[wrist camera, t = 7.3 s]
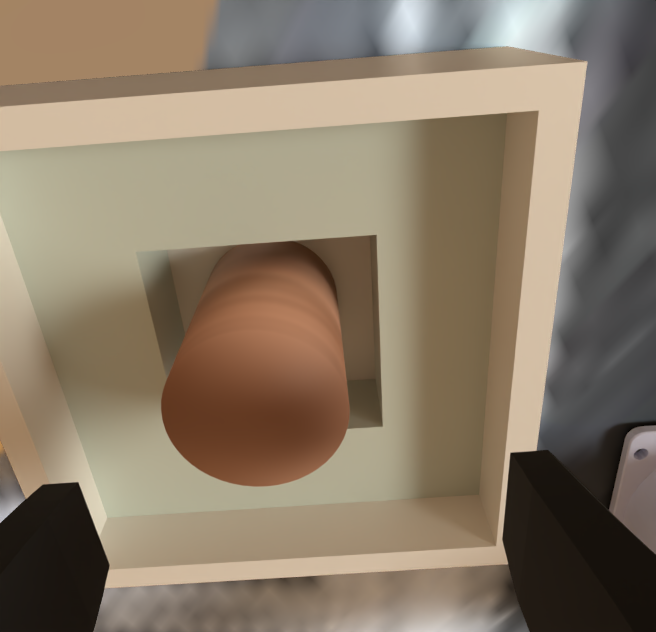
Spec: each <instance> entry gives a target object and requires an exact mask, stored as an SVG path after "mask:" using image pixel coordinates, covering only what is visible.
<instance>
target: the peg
mask: <svg viewBox="0 0 656 632" xmlns="http://www.w3.org/2000/svg"><path fill="white" fill-rule="evenodd" d="M161 414H162V420H163V424H164V427H165V430H166V432H167V435H168V437H169V439H170V441H171V442H172V444H173V445H174V447H175V448H176V449H177V451H178V452H179V453H180V454H181V455H182V456H183V457H184V458H185V459H186V460H187V461H188V462H189V463H190V464H192V465H193V466H195V467H196V468H197V469H199V470H200V471H202V472H204V473H206V474H208V475H209V476H212V477H214V478H216V479H219V480H222V481H225V482H228V483H232V484H237V485H242V486H253V487H261V486H274V485H280V484H284V483H289V482H292V481H295V480H298V479H300V478H302V477H304V476H306V475H309V474H310V473H312V472H314V471H315V470H317V469H318V468H320V467H321V466H322V465H323V464H325V463H326V462H327V461H328V460H329V459H330V458H331V457H332V456H333V455H334V453H335V452H336V450H337V449H338V448H339V446H340V444H341V443H342V441H343V439H344V437H345V434H346V431H347V428H348V423H349V415H350V407H349V398H348V389H347V380H346V371H345V362H344V353H343V344H342V335H341V326H340V317H339V308H338V300H337V291H336V286H335V282H334V279H333V276H332V274H331V272H330V270H329V269H328V267H327V265H326V264H325V263H324V262H323V260H322V259H321V258H320V257H319V256H318V255H317V254H316V253H314V252H313V251H312V250H310V249H309V248H307V247H305V246H304V245H302V244H300V243H297V242H295V241H283V242H269V243H255V244H241V245H237V246H235V247H233V248H232V249H230V250H229V251H228V252H226V253H225V254H224V255H223V256H222V257H221V258H220V259H219V261H218V262H217V264H216V265H215V267H214V268H213V270H212V272H211V274H210V277H209V279H208V282H207V284H206V286H205V289H204V291H203V294H202V296H201V298H200V301H199V303H198V306H197V308H196V310H195V313H194V315H193V318H192V320H191V322H190V325H189V327H188V330H187V332H186V334H185V337H184V339H183V342H182V344H181V346H180V349H179V351H178V354H177V356H176V358H175V361H174V363H173V366H172V368H171V370H170V373H169V375H168V378H167V380H166V383H165V386H164V388H163V393H162V398H161Z"/></svg>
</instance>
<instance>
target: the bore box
mask: <svg viewBox="0 0 656 632" xmlns="http://www.w3.org/2000/svg"><path fill="white" fill-rule="evenodd" d="M586 67H587V61H582V60H577V59H572V58H567V57H561V56H556V55H551V54H546V53H540V52H535V51H530V50H525V49H519V48H514V47H509V46H506V47H493V48H480V49H467V50H454V51H441V52H429V53H416V54H403V55H390V56H377V57H365V58H352V59H339V60H326V61H313V62H300V63H288V64H275V65H262V66H249V67H236V68H223V69H211V70H198V71H186V72H173V73H159V74H147V75H134V76H122V77H109V78H96V79H83V80H70V81H57V82H44V83H32V84H19V85H6V86H0V441H1V443H2V445H3V448H4V450H5V452H6V454H7V457H8V459H9V461H10V464H11V466H12V468H13V471H14V473H15V475H16V477H17V480H18V482H19V484H20V487H21V489H22V491H23V493H24V496H25V498H26V499H27V498H28V497H29V496H30V495H31V494H32V493H33V492H35V491H36V490H37V489H38V488H39V487H40V486H42V485H43V484H57V483H71V482H78V483H79V485H80V488H81V490H82V493H83V496H84V498H85V501H86V504H87V506H88V509H89V512H90V514H91V517H92V520H93V522H94V525H95V527H96V530H97V533H98V535H99V538H100V541H101V543H102V546H103V549H104V551H105V554H106V556H107V559H108V562H109V564H110V566H109V571H108V575H107V579H106V584H105V588H119V587H135V586H152V585H169V584H185V583H202V582H219V581H236V580H252V579H269V578H286V577H303V576H319V575H336V574H353V573H369V572H386V571H403V570H420V569H436V568H453V567H470V566H486V565H503V564H508V561H507V557H506V553H505V549H504V545H503V541H502V537H503V526H504V515H505V505H506V494H507V483H508V472H509V462H510V453H512V452H526V451H536V449H537V442H538V434H539V426H540V419H541V411H542V403H543V396H544V388H545V380H546V373H547V365H548V358H549V350H550V342H551V335H552V327H553V319H554V312H555V304H556V296H557V289H558V281H559V274H560V266H561V258H562V251H563V243H564V235H565V228H566V220H567V212H568V205H569V197H570V190H571V182H572V174H573V167H574V159H575V151H576V144H577V136H578V128H579V121H580V113H581V106H582V98H583V90H584V83H585V75H586ZM283 241H295V242H297V243H300V244H302V245H304V246H305V247H307V248H309V249H310V250H312V251H313V252H314V253H316V254H317V255H318V256H319V257H320V258H321V259H322V260H323V262H324V263H325V264H326V265H327V267H328V269H329V270H330V272H331V274H332V276H333V279H334V282H335V286H336V291H337V300H338V308H339V317H340V326H341V335H342V344H343V353H344V362H345V371H346V380H347V389H348V398H349V407H350V415H349V423H348V428H347V431H346V434H345V437H344V439H343V441H342V443H341V444H340V446H339V448H338V449H337V450H336V452H335V453H334V455H333V456H332V457H331V458H330V459H329V460H328V461H327V462H326V463H325V464H323V465H322V466H321V467H320V468H318V469H317V470H315V471H314V472H312V473H310V474H309V475H306V476H304V477H302V478H300V479H298V480H295V481H292V482H289V483H284V484H280V485H274V486H261V487H253V486H242V485H237V484H232V483H228V482H225V481H222V480H219V479H216V478H214V477H212V476H209V475H208V474H206V473H204V472H202V471H200V470H199V469H197V468H196V467H195V466H193V465H192V464H190V463H189V462H188V461H187V460H186V459H185V458H184V457H183V456H182V455H181V454H180V453H179V452H178V451H177V449H176V448H175V447H174V445H173V444H172V442H171V441H170V439H169V437H168V435H167V432H166V430H165V427H164V424H163V420H162V414H161V398H162V393H163V388H164V386H165V383H166V380H167V378H168V375H169V373H170V370H171V368H172V366H173V363H174V361H175V358H176V356H177V354H178V351H179V349H180V346H181V344H182V342H183V339H184V337H185V334H186V332H187V330H188V327H189V325H190V322H191V320H192V318H193V315H194V313H195V310H196V308H197V306H198V303H199V301H200V298H201V296H202V294H203V291H204V289H205V286H206V284H207V282H208V279H209V277H210V274H211V272H212V270H213V268H214V267H215V265H216V264H217V262H218V261H219V259H220V258H221V257H222V256H223V255H224V254H225V253H226V252H228V251H229V250H230V249H232V248H233V247H235V246H237V245H241V244H255V243H269V242H283Z"/></svg>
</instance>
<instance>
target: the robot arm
mask: <svg viewBox="0 0 656 632" xmlns="http://www.w3.org/2000/svg"><path fill="white" fill-rule="evenodd" d="M639 449H641V450H640V451H638V452H636V451H637V450H639ZM502 541H503V545H504V549H505V553H506V557H507V561H508V565H509V569H510V572H511V576H512V580H513V583H514V587H515V591H516V594H517V598H518V602H519V604H520V607H521V610H522V613H523V615H524V618H525V621H526V623H527V626H528V628H529V631H530V632H656V425H654V426H641V427H636V428H634V429H632V430H630V431H629V432H628V433H627V435H626V437H625V440H624V445H623V449H622V454H621V458H620V463H619V467H618V472H617V476H616V481H615V485H614V490H613V494H612V499H611V503H610V508H609V510H608V509H607V508H606V507H605V506H604V505H603V504H602V503H601V502H600V501H599V500H598V499H597V498H596V497H595V496H594V495H593V494H592V493H591V492H590V491H589V490H588V489H587V488H586V487H585V486H584V485H583V484H582V483H581V482H580V481H579V480H578V479H577V478H576V477H575V476H574V475H573V474H572V473H571V472H570V471H569V470H568V469H567V468H566V467H565V466H564V465H563V464H562V463H561V462H560V461H559V460H558V459H557V458H556V457H555V456H554V455H553V454H552V453H551V452H549V451H548V450H541V451H526V452H512V453H510V462H509V472H508V483H507V494H506V505H505V515H504V526H503V537H502ZM109 566H110V564H109V562H108V559H107V556H106V554H105V551H104V549H103V546H102V543H101V541H100V538H99V535H98V533H97V530H96V527H95V525H94V522H93V520H92V517H91V514H90V512H89V509H88V506H87V504H86V501H85V498H84V496H83V493H82V490H81V488H80V485H79V483H78V482H71V483H57V484H43V485H42V486H40V487H39V488H38V489H37V490H36V491H35V492H33V493H32V494H31V495H30V496H29V497H28V498H27V499H26V500H25V501H23V502H22V503H21V504H20V505H19V506H18V507H17V508H16V509H15V510H14V511H13V512H12V513H11V514H10V515H8V516H7V517H6V518H5V519H4V520H3V521H2V522H1V523H0V632H93V630H94V627H95V624H96V620H97V616H98V612H99V608H100V604H101V601H102V597H103V592H104V588H105V584H106V579H107V575H108V571H109Z"/></svg>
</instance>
